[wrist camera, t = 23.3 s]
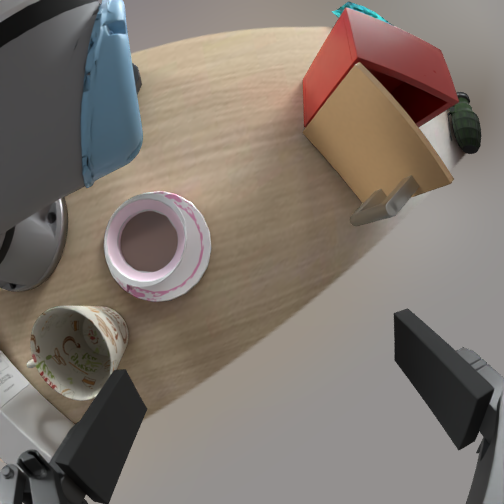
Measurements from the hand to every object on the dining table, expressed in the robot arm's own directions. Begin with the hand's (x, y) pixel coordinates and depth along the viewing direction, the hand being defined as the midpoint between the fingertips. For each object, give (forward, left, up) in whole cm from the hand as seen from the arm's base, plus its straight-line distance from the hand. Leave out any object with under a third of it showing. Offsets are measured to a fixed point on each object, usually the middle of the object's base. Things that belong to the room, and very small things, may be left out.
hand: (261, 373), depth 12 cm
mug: (-10, -13, -19) cm, 25 cm away
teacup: (-10, +1, -19) cm, 22 cm away
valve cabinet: (-3, +30, -19) cm, 36 cm away
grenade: (+16, +43, -17) cm, 49 cm away
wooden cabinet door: (0, +19, -19) cm, 27 cm away
